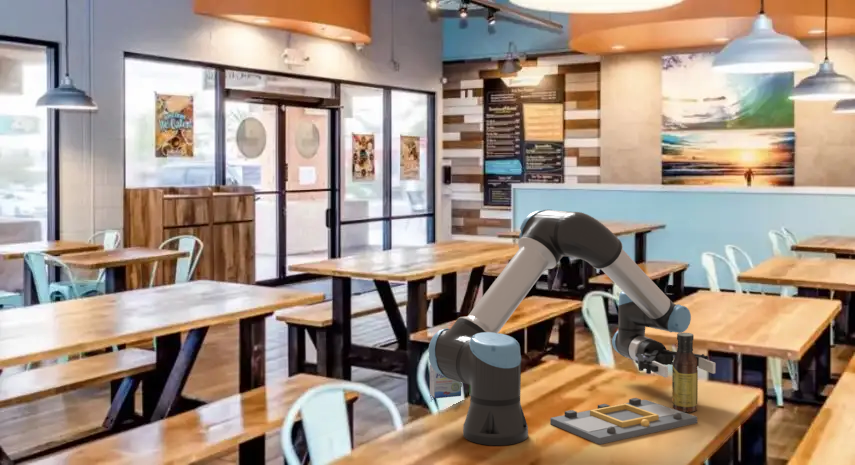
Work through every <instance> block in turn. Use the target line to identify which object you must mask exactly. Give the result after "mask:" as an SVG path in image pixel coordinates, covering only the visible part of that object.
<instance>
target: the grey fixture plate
mask: <svg viewBox="0 0 855 465" xmlns="http://www.w3.org/2000/svg"><path fill="white" fill-rule="evenodd" d="M549 422H550V423H549V424H550V425H552V426H554V427H557V428H560V430H561V429H562V430H564V431H566V432H569V433H571V434H574V435H576V436H578V437H581V438H583V439H585V440H588V441H590V442H593V443H595V444H598V445H603V444H608V443H613V442H616V441H621V440H626V439H631V438H635V437H640V436H644V435H649V434H653V433H658V432H662V431H667V430H671V429H676V428H680V427H684V426H690V425H695V424H698V416H696V415H692V414H689V413H688V412H681V411H678V410H675V409H674V408H671V407H669V406H666V405H662V404H659V403H657V402H654V401H651V400H648V399H641V398H639V397H633V398H629V399H628V402H624V403H620V404H619V403H618V404H616V405H615V404H614V405H609V404H606V403H601V404H597V408H594V409H588V410H585V411H584V410H583V411H579V412H578V411H576V410H573V409H571V410H566V411H565V410H564V414H562V415H558V416H554V417H550V418H549Z"/></svg>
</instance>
